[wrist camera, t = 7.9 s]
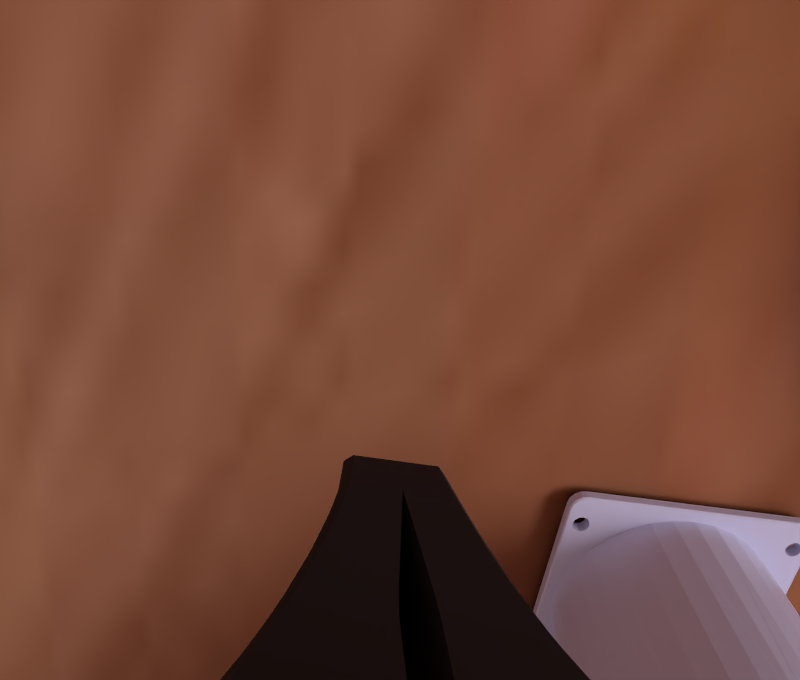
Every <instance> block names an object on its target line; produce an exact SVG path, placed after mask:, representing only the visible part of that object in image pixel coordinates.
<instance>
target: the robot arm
mask: <svg viewBox="0 0 800 680" xmlns="http://www.w3.org/2000/svg"><path fill="white" fill-rule="evenodd" d="M578 518H585V520H584V521H582V522H580V523H574V521H575V520H576V519H578ZM793 543H794V544H793ZM791 544H793V546H791V547H789V548H787V547H788V546H789V545H791ZM799 567H800V518H798V517H790V516H782V515H774V514H766V513H758V512H750V511H742V510H734V509H726V508H717V507H709V506H701V505H693V504H685V503H677V502H669V501H661V500H653V499H645V498H637V497H628V496H620V495H612V494H604V493H596V492H588V491H583V492H578V493H575V494H574V495H572V496H571V497H570V498H569V500H568V501H567V504H566V507H565V510H564V513H563V516H562V520H561V523H560V526H559V529H558V532H557V536H556V539H555V542H554V545H553V548H552V552H551V555H550V558H549V561H548V564H547V568H546V571H545V574H544V577H543V580H542V584H541V587H540V590H539V593H538V596H537V600H536V603H535V606H534V609H533V611H532V609H531V608H530V607H529V605H528V604H527V603H526V602H525V600H524V599H523V597H522V596H521V595H520V593H519V592H518V590H517V589H516V588H515V586H514V585H513V583H512V582H511V581H510V579H509V578H508V576H507V575H506V573H505V572H504V570H503V569H502V567H501V566H500V564H499V563H498V561H497V560H496V558H495V557H494V555H493V554H492V553H491V551H490V550H489V548H488V547H487V545H486V543H485V542H484V540H483V539H482V537H481V536H480V534H479V532H478V531H477V529H476V528H475V526H474V524H473V523H472V521H471V519H470V518H469V516H468V515H467V513H466V511H465V510H464V508H463V506H462V504H461V503H460V501H459V499H458V498H457V496H456V494H455V493H454V491H453V489H452V487H451V486H450V484H449V482H448V480H447V479H446V477H445V475H444V474H443V472H442V471H441V469H440V468H439V467H437V466H430V465H422V464H415V463H407V462H400V461H393V460H385V459H378V458H370V457H363V456H355V455H353V456H351V457H350V458H348V459H346V460H345V461H344V463H343V468H342V474H341V479H340V484H339V490H338V493H337V496H336V498H335V501H334V503H333V506H332V508H331V511H330V513H329V515H328V517H327V519H326V521H325V523H324V525H323V527H322V529H321V531H320V533H319V535H318V537H317V539H316V541H315V543H314V545H313V547H312V549H311V551H310V553H309V555H308V556H307V558H306V560H305V561H304V563H303V565H302V566H301V568H300V570H299V571H298V573H297V574H296V576H295V578H294V579H293V581H292V583H291V584H290V586H289V588H288V589H287V591H286V593H285V594H284V596H283V597H282V599H281V600H280V602H279V603H278V605H277V606H276V608H275V609H274V611H273V612H272V614H271V615H270V616H269V618H268V619H267V621H266V622H265V623H264V625H263V626H262V628H261V629H260V630H259V632H258V633H257V634H256V636H255V637H254V638H253V640H252V641H251V642H250V644H249V645H248V646H247V648H246V649H245V650H244V652H243V653H242V654H241V655H240V657H239V658H238V659H237V660H236V661H235V663H234V664H233V665H232V666H231V668H230V669H229V670H228V671H227V672H226V674H225V675H224V676H223V677H222V679H221V680H800V616H799V614H798V613H797V611H796V610H795V608H794V607H793V605H792V604H791V603H790V601H789V600H788V598H787V597H786V593H787V591H788V589H789V587H790V585H791V583H792V581H793V579H794V577H795V575H796V573H797V571H798V569H799Z"/></svg>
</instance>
